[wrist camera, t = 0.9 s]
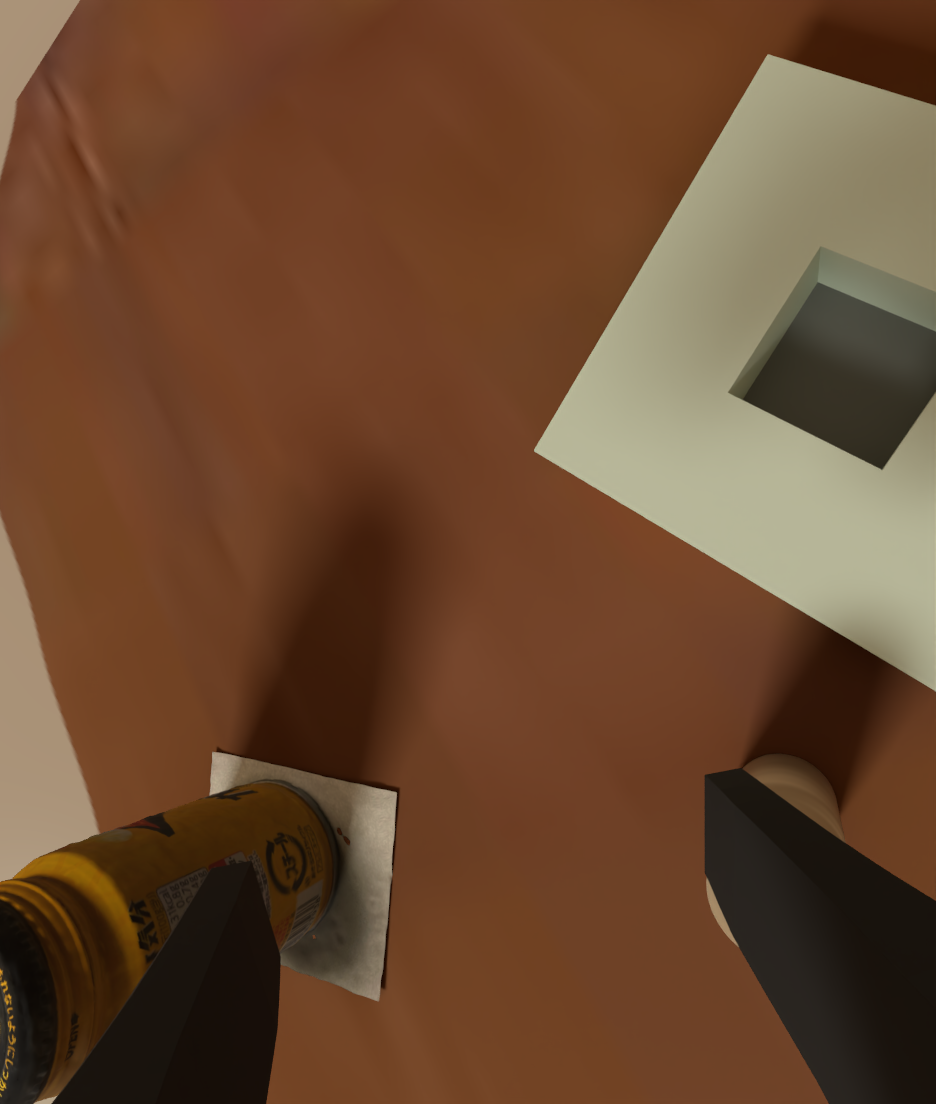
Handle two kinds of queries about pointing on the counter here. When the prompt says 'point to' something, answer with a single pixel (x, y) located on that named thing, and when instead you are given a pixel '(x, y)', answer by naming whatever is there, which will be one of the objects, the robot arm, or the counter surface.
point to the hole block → (787, 362)
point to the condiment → (164, 893)
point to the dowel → (791, 800)
